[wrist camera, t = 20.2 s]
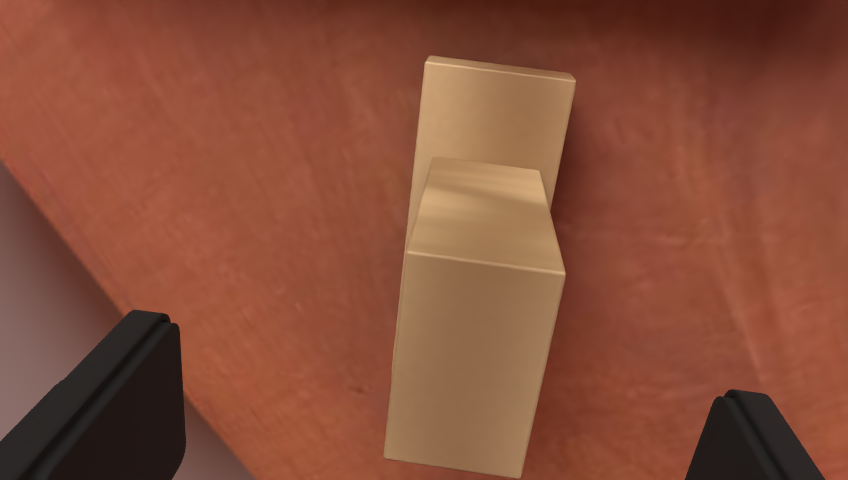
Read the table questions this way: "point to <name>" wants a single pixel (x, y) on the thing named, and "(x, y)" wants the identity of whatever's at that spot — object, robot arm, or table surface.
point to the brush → (478, 266)
